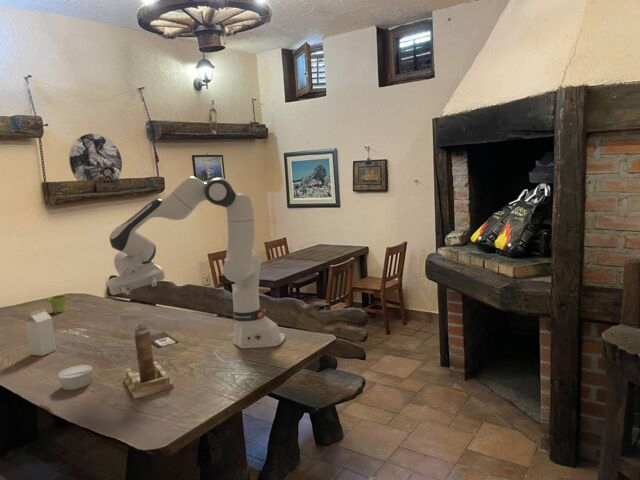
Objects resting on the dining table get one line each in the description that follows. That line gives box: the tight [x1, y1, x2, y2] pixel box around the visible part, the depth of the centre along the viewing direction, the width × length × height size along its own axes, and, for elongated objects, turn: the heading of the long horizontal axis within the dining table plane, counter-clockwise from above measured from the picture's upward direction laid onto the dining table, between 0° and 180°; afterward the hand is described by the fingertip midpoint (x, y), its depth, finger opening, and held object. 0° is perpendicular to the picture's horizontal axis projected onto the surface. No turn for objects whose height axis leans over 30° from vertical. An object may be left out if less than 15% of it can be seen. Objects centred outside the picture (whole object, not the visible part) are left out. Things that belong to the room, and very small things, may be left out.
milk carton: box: [24, 307, 57, 357], centre depth 203 cm, size 7×7×19 cm
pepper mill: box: [134, 323, 155, 383], centre depth 164 cm, size 5×5×20 cm
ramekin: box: [57, 364, 94, 391], centre depth 168 cm, size 11×11×5 cm
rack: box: [123, 361, 175, 399], centre depth 165 cm, size 18×13×4 cm
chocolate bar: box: [150, 331, 179, 349], centre depth 211 cm, size 9×1×18 cm
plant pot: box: [47, 294, 68, 314], centre depth 271 cm, size 9×9×9 cm
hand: (141, 288), depth 173 cm, fingers open, 8 cm apart
